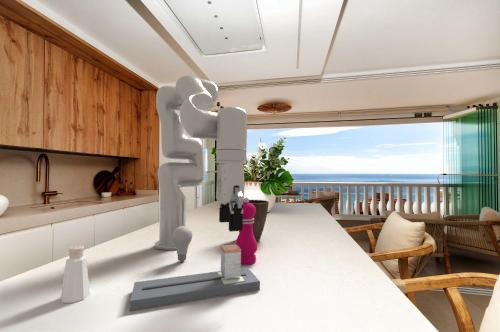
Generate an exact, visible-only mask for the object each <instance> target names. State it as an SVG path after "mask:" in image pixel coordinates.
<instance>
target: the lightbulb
mask: <svg viewBox="0 0 500 332" xmlns="http://www.w3.org/2000/svg"><path fill="white" fill-rule="evenodd" d="M192 238H193V232H192V230H191V229H190V228H189V227H187V226H180V227H178V228H176V229H175V230H174V232H173V234H172V240H173V242H174V244H175V246H176V249H175V250H176V254H177V261H179V262H181V263H183V262H184V261H186V260H187V254H188V249H189V245H190V243H191V241H192Z"/></svg>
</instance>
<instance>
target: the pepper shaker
mask: <svg viewBox="0 0 500 332" xmlns="http://www.w3.org/2000/svg"><path fill="white" fill-rule="evenodd" d="M84 250H85V246H83V245H74V246H71V247H69V249H68V251H69V253H68V256H69V257H68V258H67V259H66V261H65V265H64V266H65V267H64V271H63V272H64V273H63V280H62V286H61V293H60V298H59V299H60V301H61V303H62V304H73V303H77V302H80V301H83V300H85V299H86V298H87V297H88V296H90V295H91V293H90V283H89V271H88V262H87V257H86V256H85V255H84Z"/></svg>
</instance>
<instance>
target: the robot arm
mask: <svg viewBox="0 0 500 332" xmlns="http://www.w3.org/2000/svg"><path fill="white" fill-rule="evenodd" d="M218 96H219V90H218V86H217V85H216V84H215V82H213V81H212V80H210V79H209V80H208V79H205V78H201V77H197V76H193V75H183V76H181V77H179V78H178V79H177V81H176V82H175V86H171V85H164V86H161V87H159V88H158V90H157V92H156V97H155V106H156V111H157V114H158V118H159V122H160V131H161V133H160V136H161V137H160V138H161V154H162V156H163V157H164V158H166V159H168V160H169V159H170V160H183V161H185V160H186V161H188V162H180V161H179V162H178V161H175V162H174V161H173V162H172V161H171V162H165V163H162V164H161V165H160V166H159V167H158V170H157V178H158V179H157V180H158V185H159V186H158V187H159V235H158V236H159V237H158V238H159V240H157V241H156V242H155V243H154V247H155V248H156V249H158V250H164V251H171V250H172V251H173V250H174V251H175V250H177V249H176V246H175V244H174V242H173V240H172V234H173V232H174V230H175V229H176V228H178V227H180V226H186V223H187V222H186V220H187V214H186V213H187V199H186V198H187V197H186V195H185V193H184V192H183V191H182V190H181V188H184V187H185V188H187V187H188V188H189V187H190V188H191V187H194V188H195V187H199V186H201V185H202V184H203V182H204V180H205V179H204V178H205V162H204V161H205V159H204V146H203V143H202V140H211V141H216V154H215V155H216V158H215V161H216V164H218V169H217V177H216V179H217V180H216V192H215V194H216V195H215V198H216V201H217V202H219V210H218V212H219V213H218V214H219V215H218V217H219V218H218V221H219V223H228V231H229V232H230V233H231V232H239V231H242V228H243V207H244V206H243V201H244V198H245V168H244V165H247V148H248V147H247V145H248V144H247V143H248V142H247V138H248V113H247V111H246V109H243V108H240V107H236V106H226V107H225V106H224V107H221V108H220V109H219V110H218V112H215V111H211V110H212V108H213V105H215V104H216V102H217V100H218ZM176 111H177V112H179V114H178V113H177V112H176ZM185 133H186V134H187V135H185ZM201 139H202V140H201ZM186 227H187V226H186Z"/></svg>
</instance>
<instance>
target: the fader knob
mask: <svg viewBox="0 0 500 332" xmlns="http://www.w3.org/2000/svg"><path fill="white" fill-rule="evenodd" d="M241 268H242V264H241V248H240V247H238V246H237V245H236V244H235V243H234V244H226V245H220V271H221V274H222V276H223V278H224V279H231V278H238V277H241Z"/></svg>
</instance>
